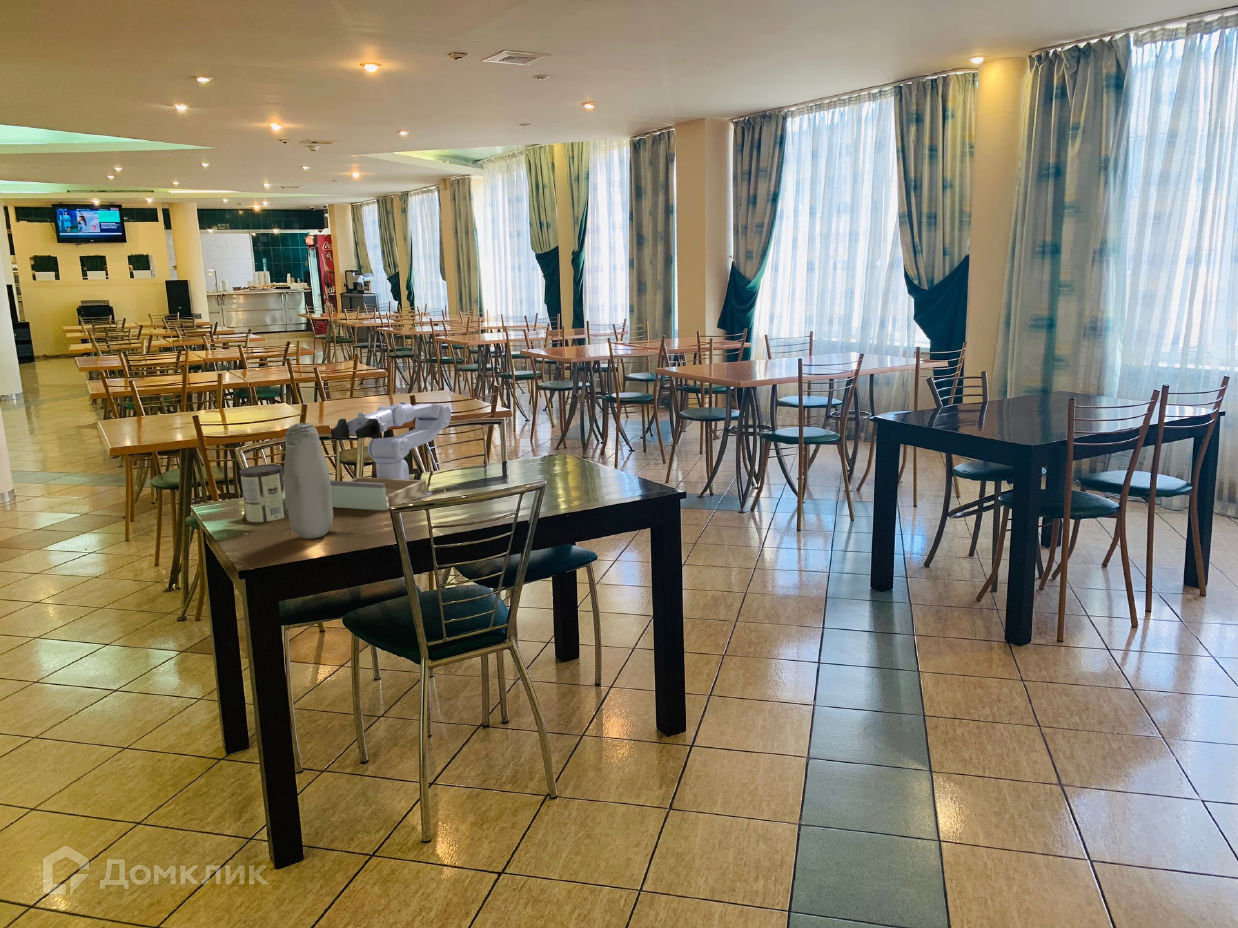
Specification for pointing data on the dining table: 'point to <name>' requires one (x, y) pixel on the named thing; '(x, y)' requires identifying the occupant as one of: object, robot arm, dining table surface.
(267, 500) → the coffee can
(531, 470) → the dining table surface
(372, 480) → the cart bed
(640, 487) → the dining table surface
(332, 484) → the panel
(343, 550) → the dining table surface
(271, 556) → the dining table surface
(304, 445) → the white bottle
